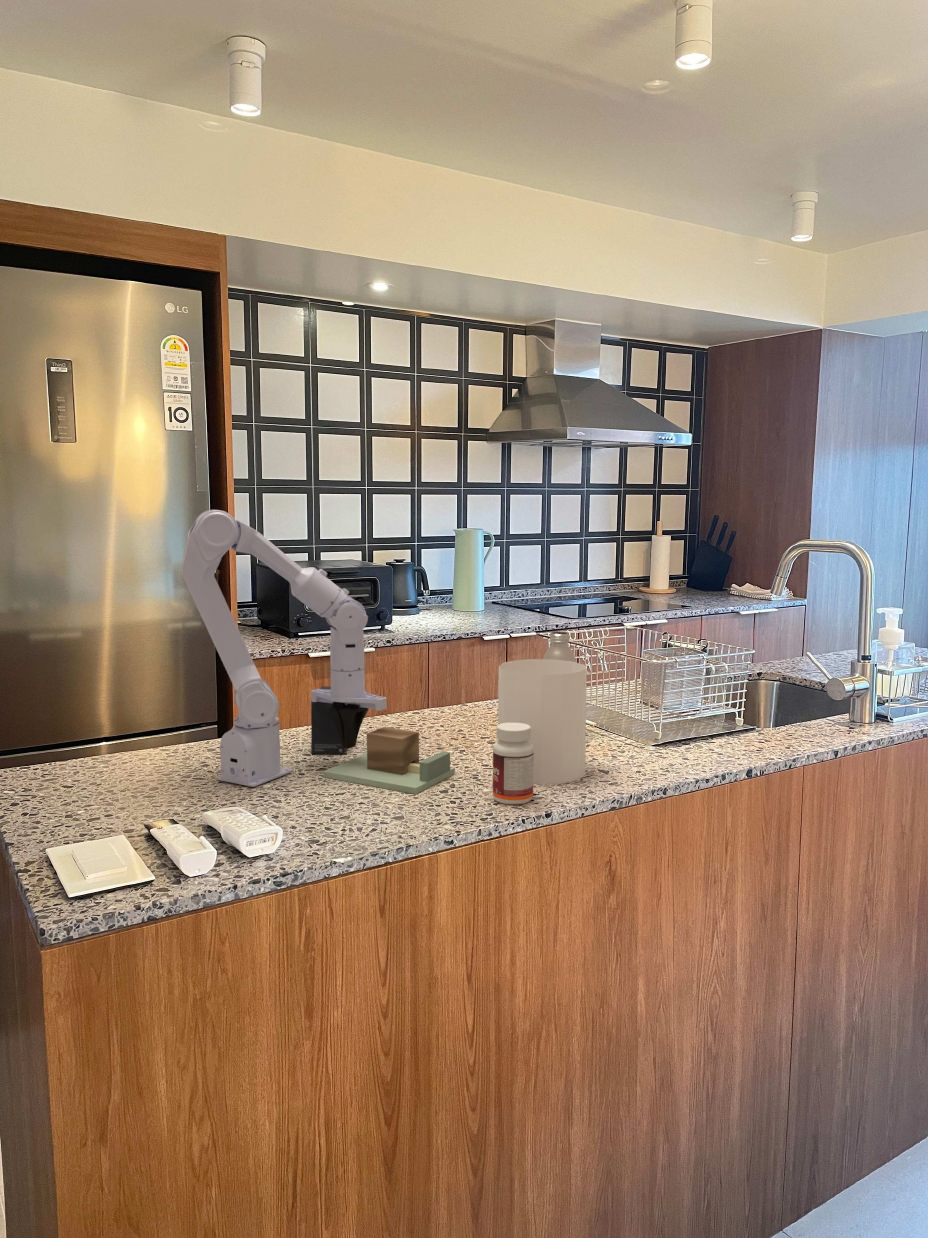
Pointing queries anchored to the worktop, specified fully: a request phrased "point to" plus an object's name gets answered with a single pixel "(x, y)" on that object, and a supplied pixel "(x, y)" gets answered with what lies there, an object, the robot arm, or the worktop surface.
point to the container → (547, 714)
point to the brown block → (392, 750)
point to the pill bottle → (513, 764)
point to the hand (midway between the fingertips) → (349, 746)
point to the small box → (324, 730)
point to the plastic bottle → (559, 647)
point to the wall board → (410, 782)
